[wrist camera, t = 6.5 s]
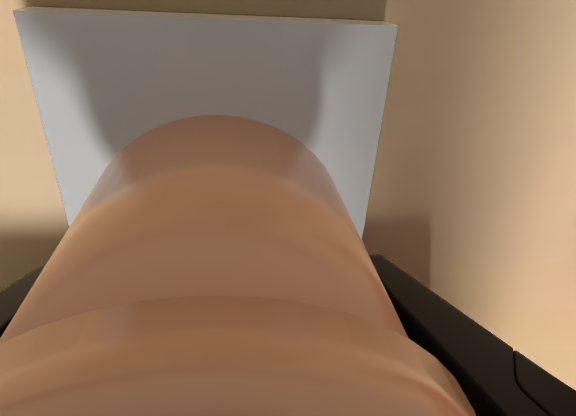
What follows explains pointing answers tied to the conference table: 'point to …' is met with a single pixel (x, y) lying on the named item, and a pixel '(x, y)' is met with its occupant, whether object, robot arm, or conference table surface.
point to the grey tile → (206, 85)
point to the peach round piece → (215, 293)
